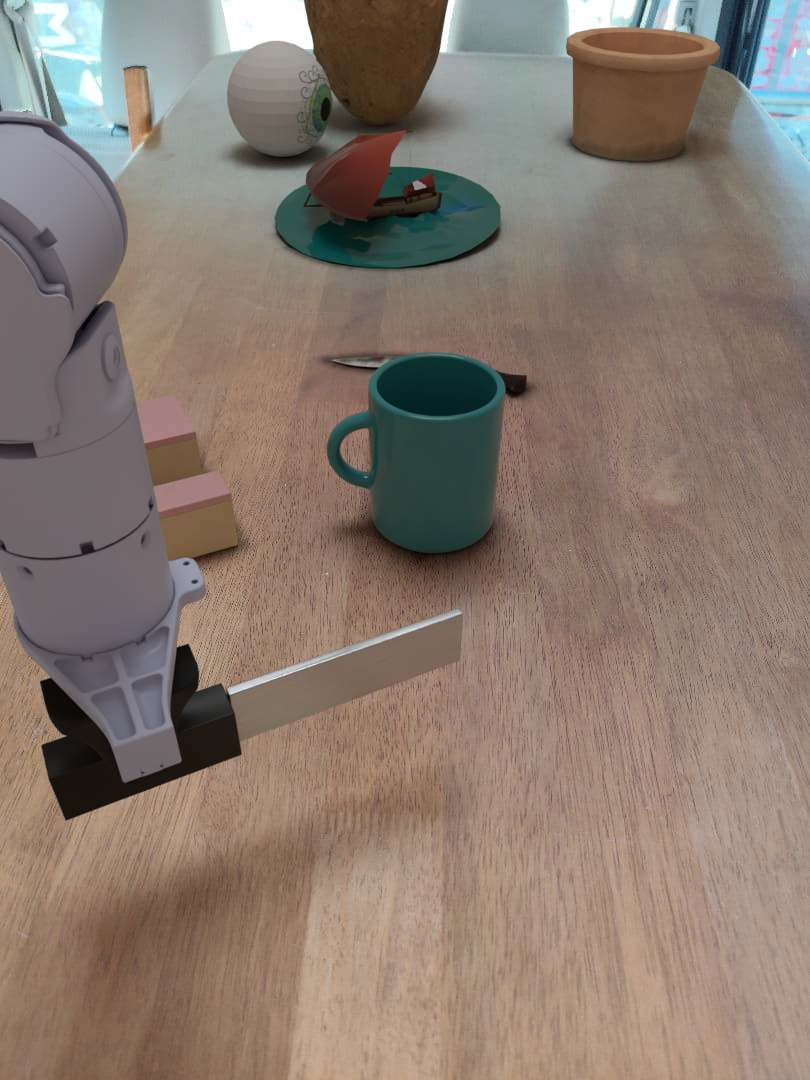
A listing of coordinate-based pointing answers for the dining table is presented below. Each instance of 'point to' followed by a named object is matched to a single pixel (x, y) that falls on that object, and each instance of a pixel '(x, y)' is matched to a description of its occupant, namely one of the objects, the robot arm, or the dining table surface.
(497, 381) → the cup
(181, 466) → the cake
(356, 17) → the brown rounded tapered piece
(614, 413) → the dining table surface
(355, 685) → the cake knife
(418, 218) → the sailing ship model
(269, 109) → the decorative object
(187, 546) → the cake slice
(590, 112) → the pottery
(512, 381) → the knife
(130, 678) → the robot arm
